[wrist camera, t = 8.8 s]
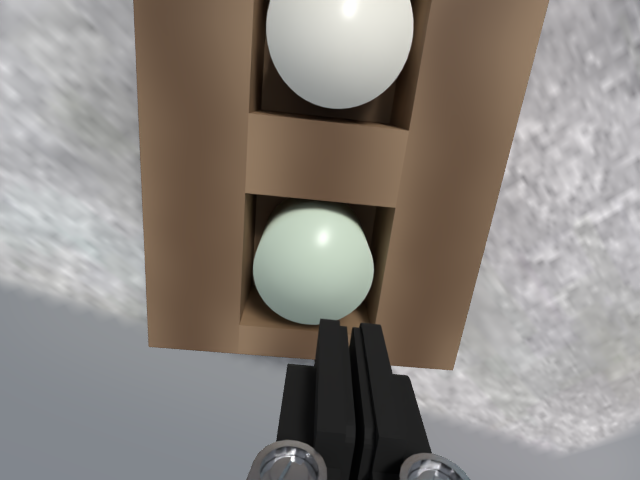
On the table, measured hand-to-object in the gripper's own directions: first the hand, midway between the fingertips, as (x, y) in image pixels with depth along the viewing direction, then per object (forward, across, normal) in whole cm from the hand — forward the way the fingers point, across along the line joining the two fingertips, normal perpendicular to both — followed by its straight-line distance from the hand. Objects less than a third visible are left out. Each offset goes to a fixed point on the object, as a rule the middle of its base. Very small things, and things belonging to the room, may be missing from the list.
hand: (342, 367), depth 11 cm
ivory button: (+10, +1, -9) cm, 14 cm away
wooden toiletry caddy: (+14, +1, -5) cm, 15 cm away
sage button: (+10, +1, 0) cm, 10 cm away
